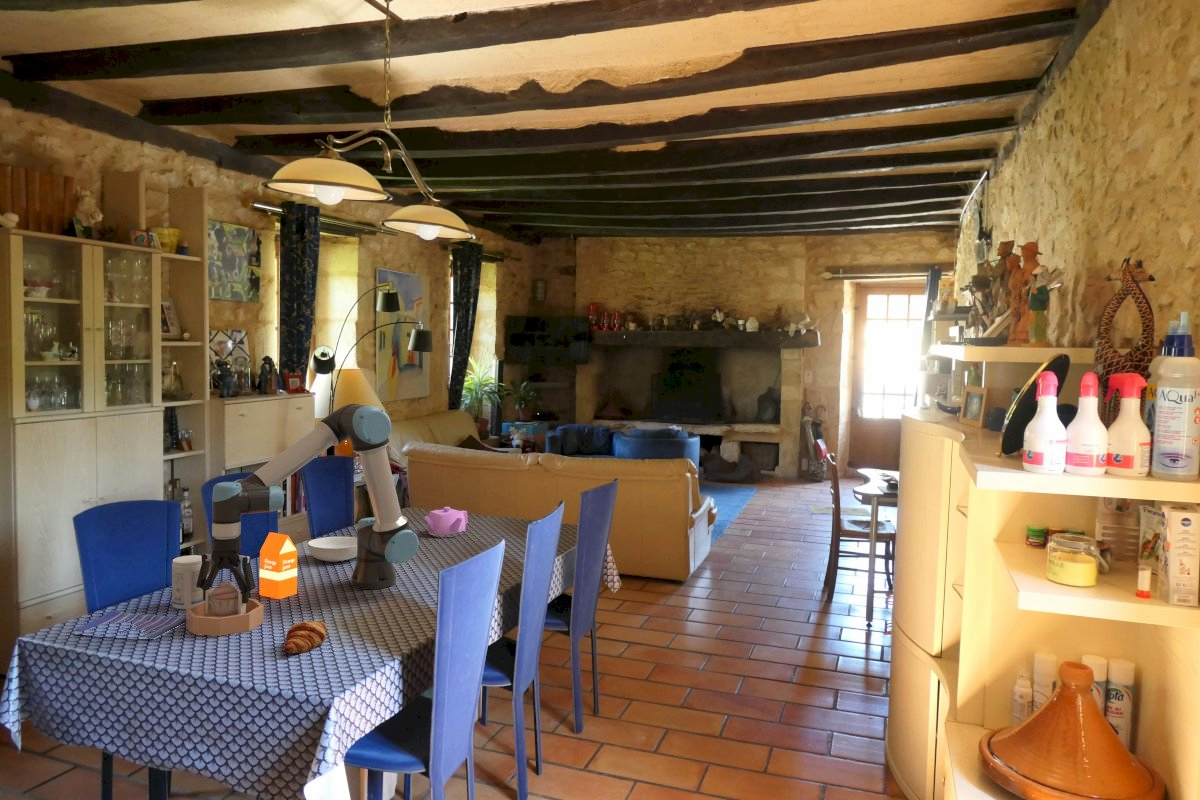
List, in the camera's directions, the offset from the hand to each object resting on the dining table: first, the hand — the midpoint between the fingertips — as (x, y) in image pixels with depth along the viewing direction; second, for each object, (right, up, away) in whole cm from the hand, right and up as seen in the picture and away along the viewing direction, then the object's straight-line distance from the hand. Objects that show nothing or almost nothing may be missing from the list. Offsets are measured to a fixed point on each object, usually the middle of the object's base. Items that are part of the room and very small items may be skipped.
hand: (225, 612), depth 235 cm
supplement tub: (-19, -2, +16) cm, 25 cm away
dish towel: (-24, -4, -5) cm, 25 cm away
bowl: (0, -3, 0) cm, 3 cm away
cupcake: (0, 0, 0) cm, 0 cm away
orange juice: (+3, -2, +31) cm, 31 cm away
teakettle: (+40, +1, +127) cm, 133 cm away
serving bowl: (+7, 0, +78) cm, 78 cm away
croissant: (+28, -6, -13) cm, 31 cm away
